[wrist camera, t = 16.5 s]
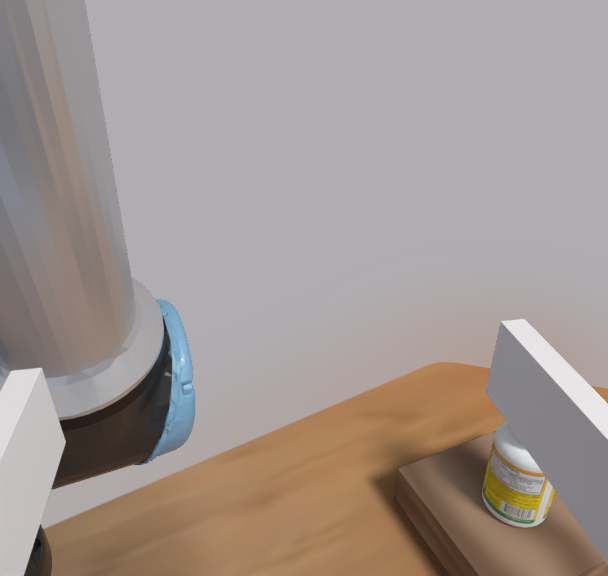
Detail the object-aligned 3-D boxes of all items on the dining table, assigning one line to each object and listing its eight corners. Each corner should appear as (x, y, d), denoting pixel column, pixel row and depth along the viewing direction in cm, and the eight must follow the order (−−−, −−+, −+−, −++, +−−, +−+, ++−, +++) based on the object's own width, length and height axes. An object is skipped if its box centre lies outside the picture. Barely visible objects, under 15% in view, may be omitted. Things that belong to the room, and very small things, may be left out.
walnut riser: (497, 644, 38) (508, 613, 36) (394, 497, 49) (397, 468, 47) (629, 569, 43) (645, 538, 41) (508, 451, 54) (515, 423, 52)
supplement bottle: (508, 539, 41) (533, 451, 36) (468, 487, 45) (485, 403, 41) (562, 518, 43) (592, 432, 38) (517, 469, 47) (540, 387, 42)
